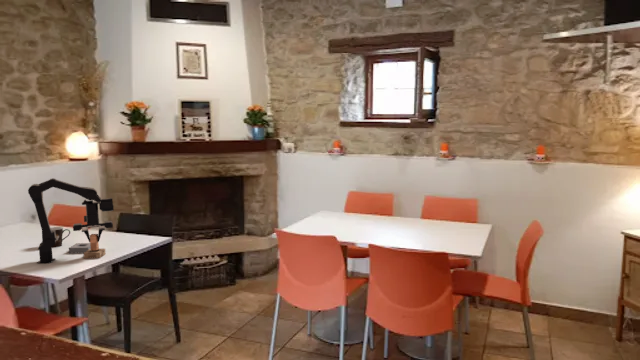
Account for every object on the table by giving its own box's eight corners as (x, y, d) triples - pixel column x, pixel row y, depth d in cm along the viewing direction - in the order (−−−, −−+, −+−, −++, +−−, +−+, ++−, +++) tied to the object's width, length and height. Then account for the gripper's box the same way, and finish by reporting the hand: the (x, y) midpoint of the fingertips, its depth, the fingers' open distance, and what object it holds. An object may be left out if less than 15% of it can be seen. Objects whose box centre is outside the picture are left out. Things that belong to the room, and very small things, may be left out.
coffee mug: (44, 248, 283) (43, 230, 282) (49, 244, 292) (48, 227, 291) (67, 247, 286) (66, 229, 284) (71, 243, 294) (70, 226, 293)
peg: (96, 250, 265) (95, 235, 264) (90, 250, 265) (89, 235, 264) (98, 248, 268) (97, 233, 267) (92, 248, 268) (91, 233, 267)
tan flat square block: (100, 258, 263) (99, 252, 263) (84, 258, 263) (83, 252, 262) (105, 254, 271) (105, 248, 271) (90, 254, 271) (89, 248, 270)
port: (88, 252, 273) (88, 247, 273) (69, 253, 273) (68, 247, 272) (95, 248, 283) (95, 242, 283) (76, 248, 283) (76, 243, 282)
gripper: (111, 208, 275) (113, 236, 277) (73, 211, 268) (75, 240, 270) (111, 212, 265) (113, 241, 267) (72, 215, 257) (74, 245, 259)
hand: (94, 241), depth 266 cm, fingers closed on peg, 4 cm apart
